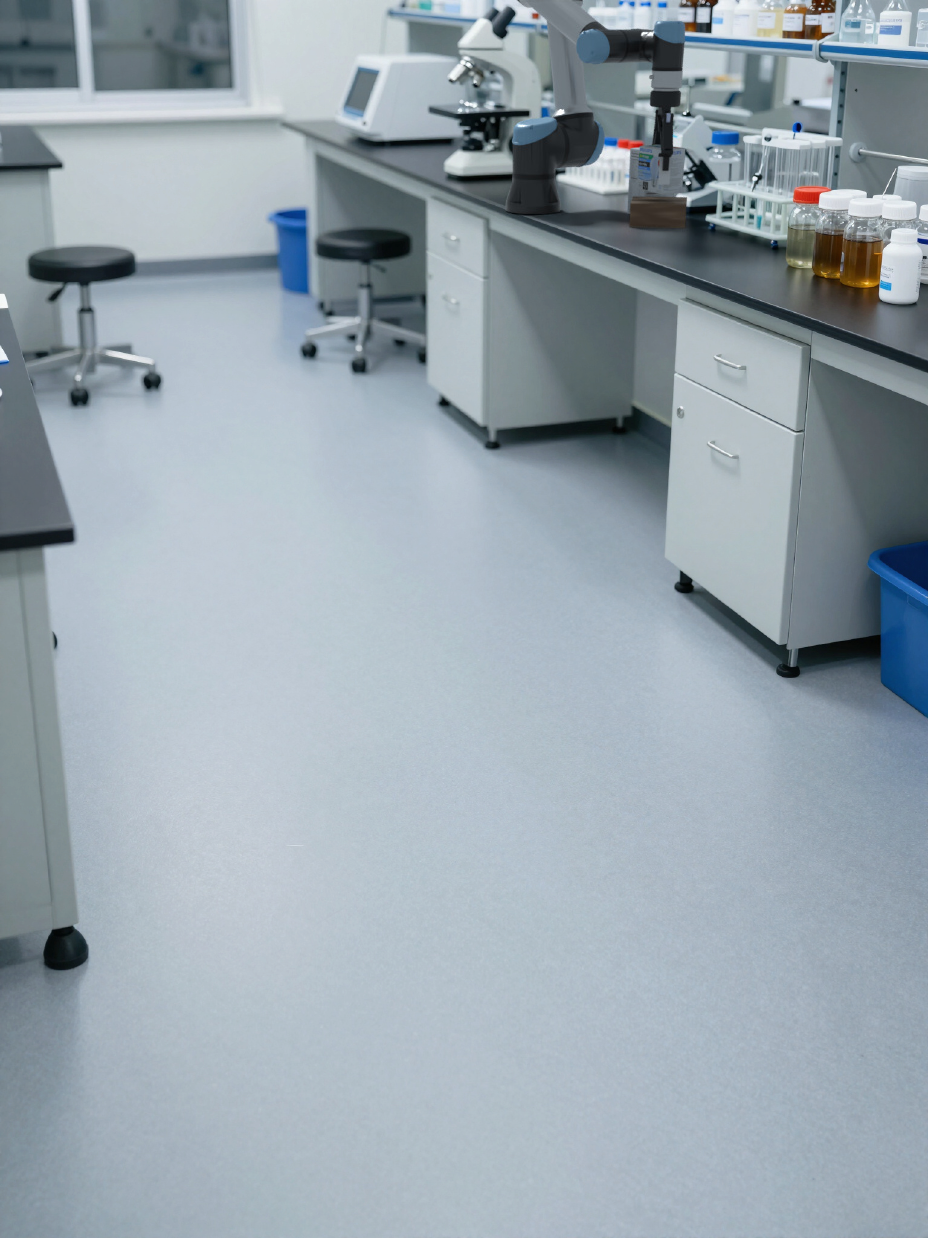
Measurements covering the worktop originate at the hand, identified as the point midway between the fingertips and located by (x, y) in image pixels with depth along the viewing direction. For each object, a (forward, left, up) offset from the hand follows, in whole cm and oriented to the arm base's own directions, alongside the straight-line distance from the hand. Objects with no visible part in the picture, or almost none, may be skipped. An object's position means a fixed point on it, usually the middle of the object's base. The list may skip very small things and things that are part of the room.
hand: (660, 181), depth 323 cm
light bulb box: (0, 0, -3) cm, 3 cm away
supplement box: (-15, 0, -11) cm, 18 cm away
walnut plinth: (0, 0, -11) cm, 11 cm away
